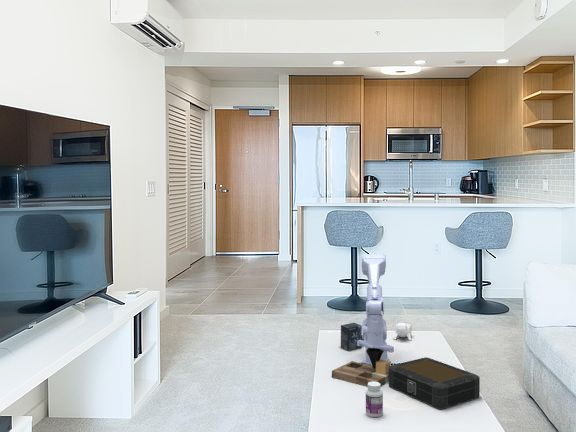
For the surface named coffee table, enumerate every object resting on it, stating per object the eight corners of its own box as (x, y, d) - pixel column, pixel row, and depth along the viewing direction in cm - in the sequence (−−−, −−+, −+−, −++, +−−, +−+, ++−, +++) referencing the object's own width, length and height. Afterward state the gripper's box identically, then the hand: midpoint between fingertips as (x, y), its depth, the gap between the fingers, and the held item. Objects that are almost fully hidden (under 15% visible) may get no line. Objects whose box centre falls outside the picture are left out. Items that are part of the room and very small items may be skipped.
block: (381, 369, 195) (381, 359, 194) (390, 372, 192) (390, 361, 192) (375, 372, 192) (375, 362, 191) (385, 375, 189) (385, 364, 189)
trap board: (352, 367, 205) (352, 361, 205) (395, 377, 193) (395, 371, 193) (331, 377, 195) (331, 370, 195) (376, 388, 183) (376, 381, 182)
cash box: (385, 387, 185) (385, 365, 184) (426, 376, 195) (426, 356, 195) (438, 412, 163) (438, 387, 163) (481, 398, 174) (481, 375, 173)
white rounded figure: (394, 341, 251) (391, 338, 237) (395, 323, 253) (392, 319, 240) (412, 342, 248) (410, 339, 235) (413, 324, 251) (411, 320, 237)
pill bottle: (363, 410, 164) (363, 380, 164) (380, 410, 165) (380, 380, 164) (367, 418, 159) (367, 387, 159) (384, 417, 159) (384, 386, 159)
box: (348, 351, 226) (348, 327, 225) (340, 348, 230) (340, 324, 230) (362, 348, 230) (362, 324, 229) (353, 345, 235) (353, 322, 234)
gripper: (352, 331, 195) (353, 366, 196) (387, 337, 186) (387, 374, 186) (362, 327, 200) (362, 361, 201) (396, 333, 191) (396, 369, 192)
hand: (375, 367), depth 194 cm, fingers closed
